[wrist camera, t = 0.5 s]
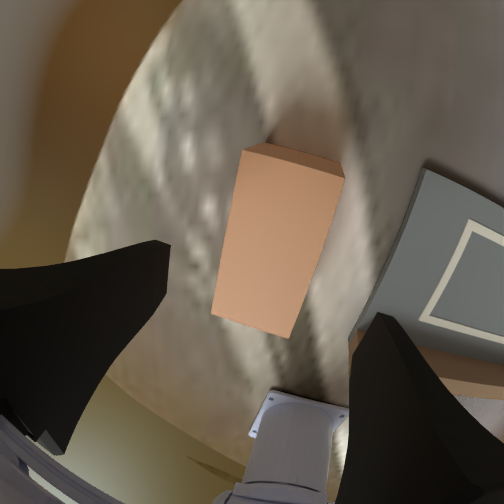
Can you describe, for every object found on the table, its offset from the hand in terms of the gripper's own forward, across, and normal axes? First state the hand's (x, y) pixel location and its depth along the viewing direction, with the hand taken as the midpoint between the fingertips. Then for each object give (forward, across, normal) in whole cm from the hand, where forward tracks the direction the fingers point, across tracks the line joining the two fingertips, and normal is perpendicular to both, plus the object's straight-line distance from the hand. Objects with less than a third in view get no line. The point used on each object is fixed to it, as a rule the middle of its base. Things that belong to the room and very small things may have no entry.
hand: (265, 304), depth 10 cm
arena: (+9, -16, +1) cm, 19 cm away
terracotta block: (+10, +1, +1) cm, 10 cm away
